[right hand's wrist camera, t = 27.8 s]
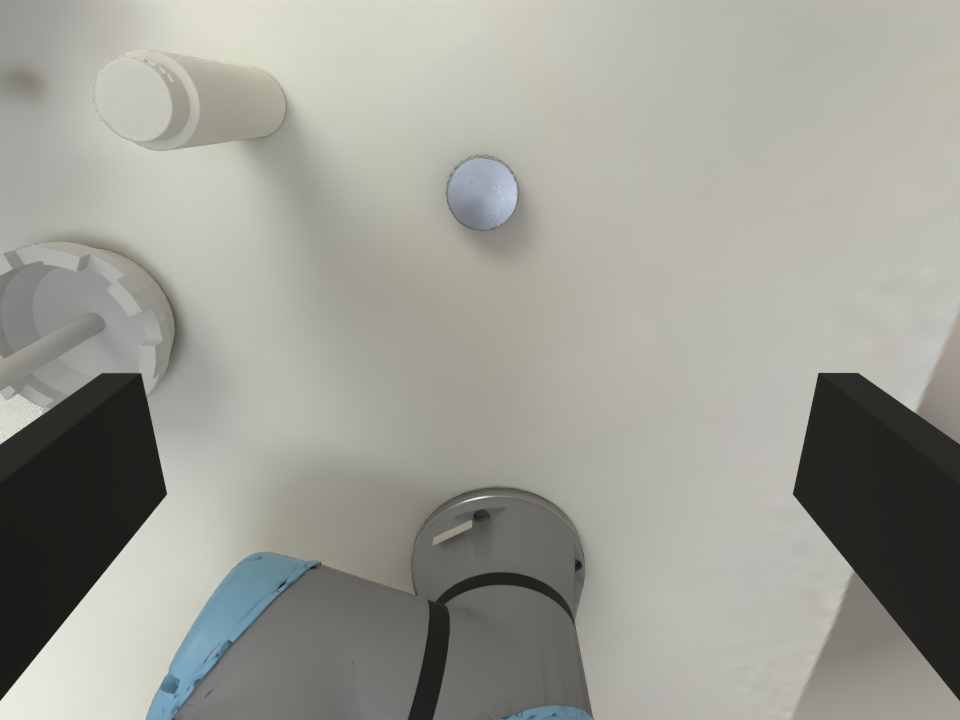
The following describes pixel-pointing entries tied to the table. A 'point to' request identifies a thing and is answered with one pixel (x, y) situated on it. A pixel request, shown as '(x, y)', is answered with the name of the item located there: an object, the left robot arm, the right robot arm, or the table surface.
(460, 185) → the lid
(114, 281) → the flag stand
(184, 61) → the jar
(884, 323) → the table surface
